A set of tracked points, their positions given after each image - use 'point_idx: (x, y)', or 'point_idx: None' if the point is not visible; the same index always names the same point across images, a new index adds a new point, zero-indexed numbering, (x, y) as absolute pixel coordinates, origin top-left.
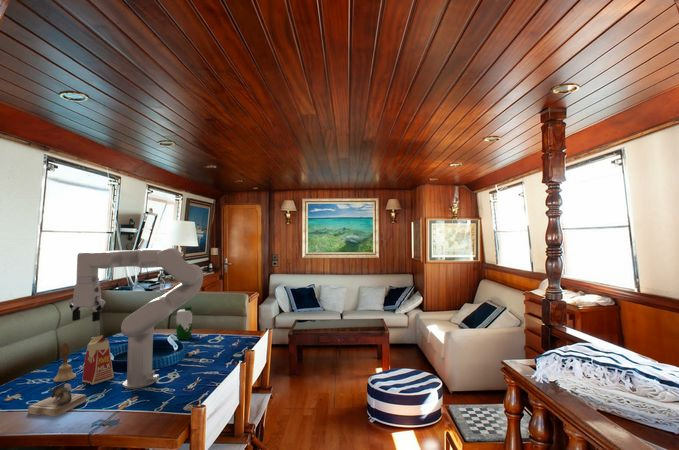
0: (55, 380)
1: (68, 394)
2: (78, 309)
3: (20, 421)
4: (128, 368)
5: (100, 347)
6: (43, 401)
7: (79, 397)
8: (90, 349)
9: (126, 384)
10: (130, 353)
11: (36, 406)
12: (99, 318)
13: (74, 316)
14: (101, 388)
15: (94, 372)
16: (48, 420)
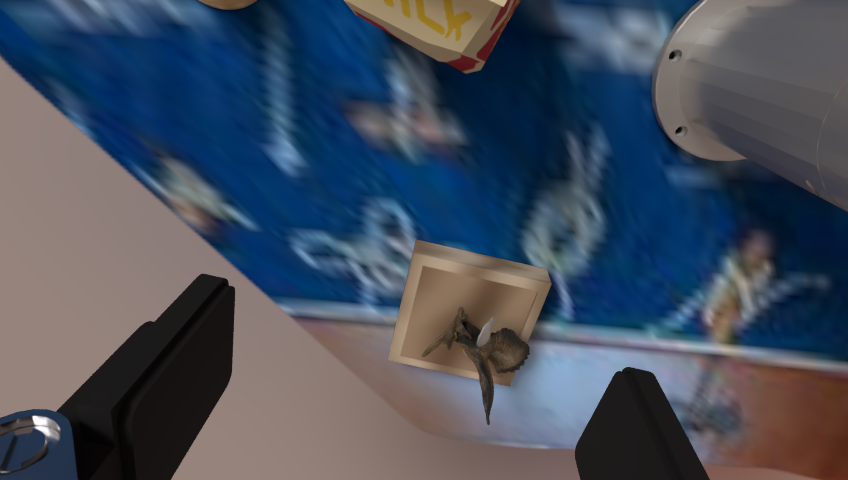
0: (207, 4)
1: (511, 347)
2: (95, 473)
3: (410, 385)
4: (741, 152)
5: (488, 20)
6: (414, 332)
7: (537, 306)
8: (400, 35)
9: (682, 125)
10: (828, 201)
11: (417, 361)
12: (658, 389)
13: (199, 430)
14: (545, 132)
15: (470, 68)
16: (498, 388)
